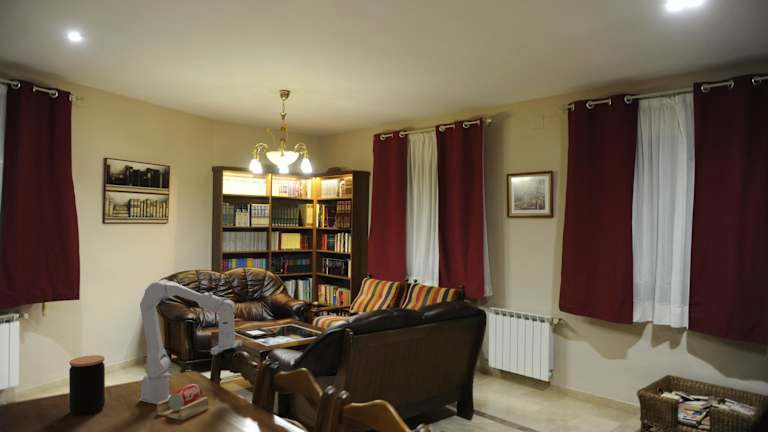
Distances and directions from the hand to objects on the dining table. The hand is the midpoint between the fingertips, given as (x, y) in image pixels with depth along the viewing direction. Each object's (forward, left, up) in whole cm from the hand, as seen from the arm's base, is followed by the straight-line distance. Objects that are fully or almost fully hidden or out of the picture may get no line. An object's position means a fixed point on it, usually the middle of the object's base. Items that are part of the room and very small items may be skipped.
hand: (227, 368), depth 191 cm
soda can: (-6, -10, -7) cm, 13 cm away
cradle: (-4, -18, -11) cm, 21 cm away
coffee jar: (-35, -31, -11) cm, 48 cm away
